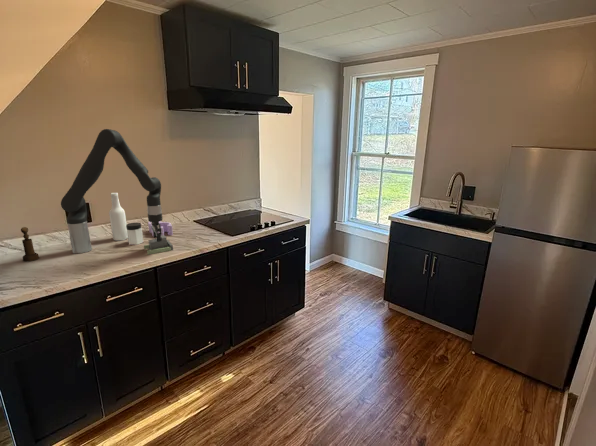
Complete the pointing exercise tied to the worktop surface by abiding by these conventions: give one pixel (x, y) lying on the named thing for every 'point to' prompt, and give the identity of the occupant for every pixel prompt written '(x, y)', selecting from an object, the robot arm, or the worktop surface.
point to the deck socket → (169, 248)
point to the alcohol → (117, 219)
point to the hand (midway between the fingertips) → (157, 239)
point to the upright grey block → (158, 243)
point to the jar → (134, 233)
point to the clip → (162, 228)
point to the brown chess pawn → (28, 247)
